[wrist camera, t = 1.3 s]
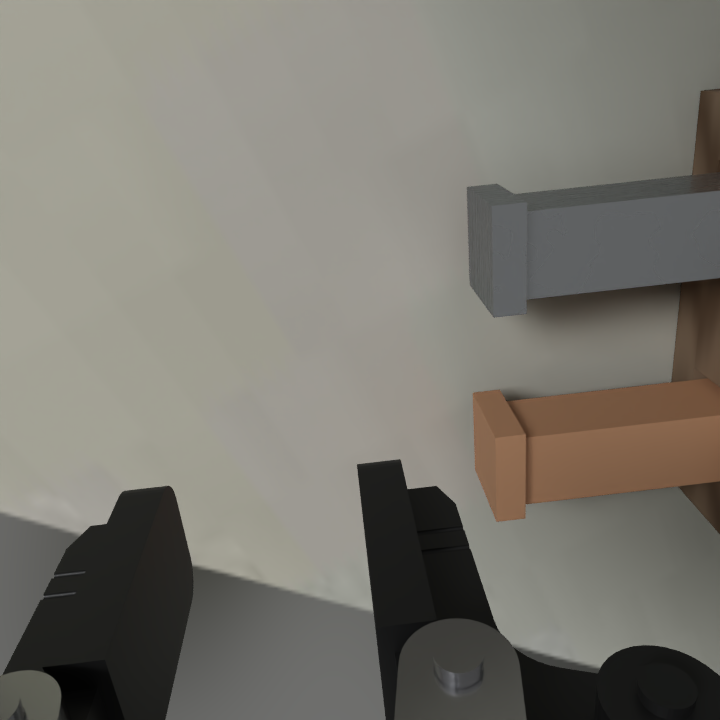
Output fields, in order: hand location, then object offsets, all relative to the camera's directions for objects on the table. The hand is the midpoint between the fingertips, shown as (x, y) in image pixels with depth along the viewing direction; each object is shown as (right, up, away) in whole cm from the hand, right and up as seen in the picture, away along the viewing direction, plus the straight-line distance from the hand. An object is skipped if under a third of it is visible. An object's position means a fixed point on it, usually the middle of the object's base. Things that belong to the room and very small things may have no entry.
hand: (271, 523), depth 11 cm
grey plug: (+12, +8, +16) cm, 22 cm away
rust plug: (+13, 0, +20) cm, 24 cm away
